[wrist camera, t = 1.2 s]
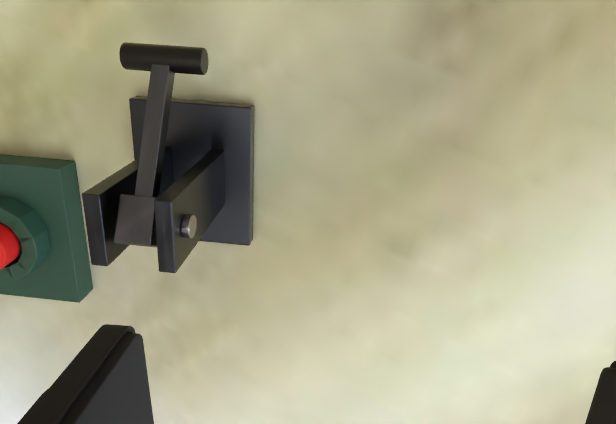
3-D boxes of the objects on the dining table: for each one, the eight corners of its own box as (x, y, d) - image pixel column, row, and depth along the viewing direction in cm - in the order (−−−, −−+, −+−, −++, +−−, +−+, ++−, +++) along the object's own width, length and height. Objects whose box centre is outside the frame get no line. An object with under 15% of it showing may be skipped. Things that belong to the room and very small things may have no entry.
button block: (-43, 150, 38) (-86, 164, 35) (75, 160, 38) (44, 176, 34) (-13, 278, 43) (-47, 302, 39) (93, 289, 42) (67, 315, 38)
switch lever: (135, 52, 30) (117, 34, 28) (211, 57, 30) (200, 40, 27) (109, 242, 29) (88, 240, 26) (188, 249, 28) (174, 249, 26)
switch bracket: (135, 95, 35) (35, 130, 24) (254, 104, 34) (206, 144, 24) (146, 229, 39) (66, 309, 28) (252, 239, 39) (211, 325, 28)
